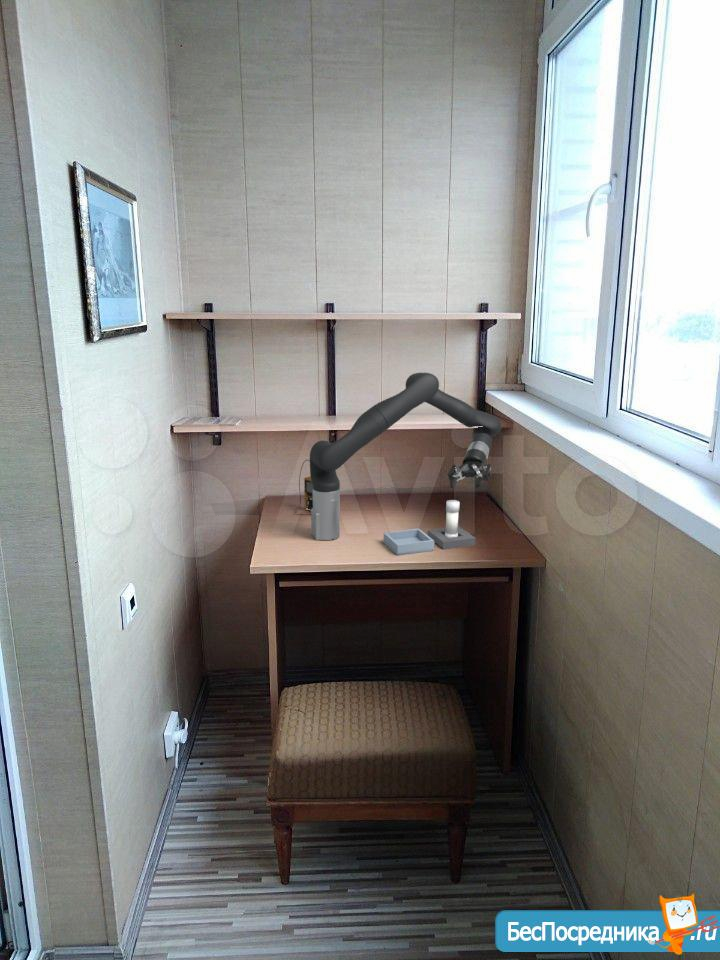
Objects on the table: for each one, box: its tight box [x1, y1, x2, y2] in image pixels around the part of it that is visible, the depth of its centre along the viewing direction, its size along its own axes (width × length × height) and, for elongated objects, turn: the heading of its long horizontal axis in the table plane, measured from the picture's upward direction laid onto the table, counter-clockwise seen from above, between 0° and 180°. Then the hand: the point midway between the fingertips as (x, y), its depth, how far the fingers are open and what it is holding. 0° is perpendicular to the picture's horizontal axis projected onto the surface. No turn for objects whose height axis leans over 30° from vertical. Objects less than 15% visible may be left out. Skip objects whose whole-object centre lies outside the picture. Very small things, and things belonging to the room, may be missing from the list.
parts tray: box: [383, 528, 435, 556], centre depth 225 cm, size 13×12×4 cm
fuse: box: [445, 499, 461, 538], centre depth 229 cm, size 4×4×14 cm
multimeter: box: [298, 459, 313, 510], centre depth 254 cm, size 15×10×20 cm
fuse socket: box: [427, 525, 476, 550], centre depth 230 cm, size 12×12×2 cm
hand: (464, 486), depth 226 cm, fingers open, 8 cm apart
